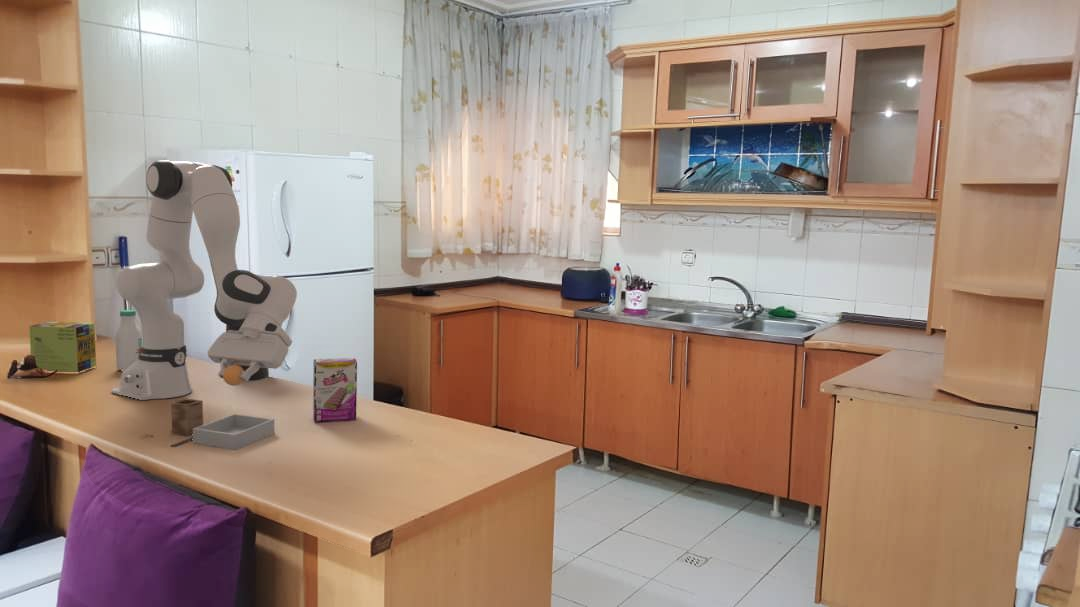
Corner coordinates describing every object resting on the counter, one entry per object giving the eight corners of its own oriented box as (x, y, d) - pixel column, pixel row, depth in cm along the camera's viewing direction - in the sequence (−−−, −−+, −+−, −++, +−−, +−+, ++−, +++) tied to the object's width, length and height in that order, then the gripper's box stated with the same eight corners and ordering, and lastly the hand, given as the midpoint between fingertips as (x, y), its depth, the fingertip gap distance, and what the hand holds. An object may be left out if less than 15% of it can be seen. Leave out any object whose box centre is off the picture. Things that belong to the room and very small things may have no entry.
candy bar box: (314, 423, 200) (313, 362, 198) (312, 418, 204) (312, 358, 202) (357, 420, 204) (357, 360, 202) (355, 415, 208) (355, 357, 206)
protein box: (78, 374, 244) (76, 327, 242) (30, 373, 244) (28, 325, 242) (97, 367, 255) (95, 322, 253) (51, 366, 255) (49, 320, 253)
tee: (172, 433, 187) (171, 403, 186) (187, 428, 192) (186, 398, 191) (188, 436, 186) (187, 405, 185) (203, 430, 190) (202, 400, 189)
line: (170, 446, 178) (170, 445, 178) (236, 422, 199) (236, 420, 199) (174, 446, 178) (174, 445, 178) (239, 422, 198) (239, 421, 198)
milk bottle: (135, 372, 250) (132, 312, 247) (111, 371, 250) (109, 311, 247) (147, 367, 257) (145, 309, 255) (125, 366, 257) (122, 308, 255)
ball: (218, 386, 182) (218, 366, 181) (233, 382, 187) (232, 362, 186) (235, 388, 180) (235, 367, 180) (250, 384, 185) (249, 364, 185)
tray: (193, 443, 181) (192, 428, 180) (234, 427, 194) (234, 413, 194) (234, 449, 177) (234, 435, 176) (274, 433, 190) (274, 419, 190)
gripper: (218, 322, 192) (190, 367, 184) (286, 327, 185) (260, 374, 177) (231, 336, 196) (205, 381, 189) (298, 342, 190) (273, 389, 182)
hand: (232, 378), depth 183 cm, fingers closed on ball, 5 cm apart
